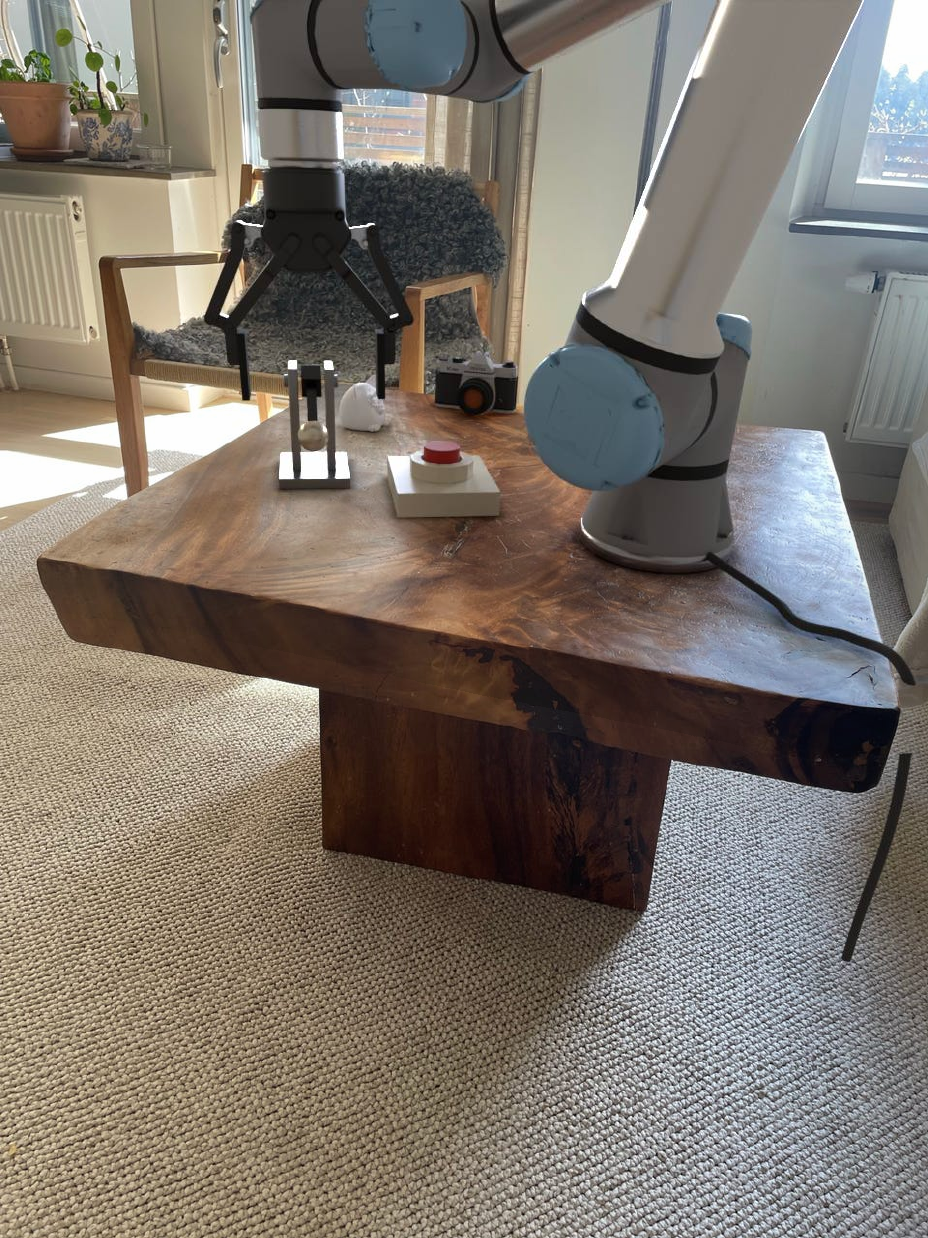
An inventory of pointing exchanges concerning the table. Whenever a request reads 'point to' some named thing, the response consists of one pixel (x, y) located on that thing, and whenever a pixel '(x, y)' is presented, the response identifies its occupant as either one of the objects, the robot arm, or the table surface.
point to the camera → (476, 384)
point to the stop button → (442, 452)
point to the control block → (441, 487)
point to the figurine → (363, 407)
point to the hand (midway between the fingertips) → (314, 397)
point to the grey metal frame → (313, 466)
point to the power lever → (312, 410)
